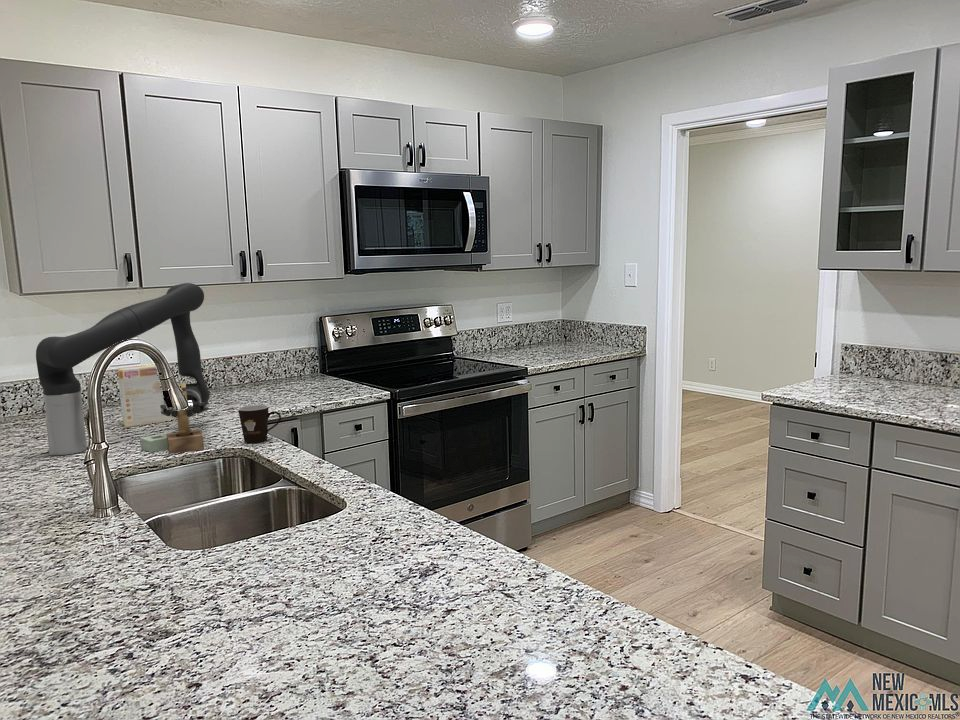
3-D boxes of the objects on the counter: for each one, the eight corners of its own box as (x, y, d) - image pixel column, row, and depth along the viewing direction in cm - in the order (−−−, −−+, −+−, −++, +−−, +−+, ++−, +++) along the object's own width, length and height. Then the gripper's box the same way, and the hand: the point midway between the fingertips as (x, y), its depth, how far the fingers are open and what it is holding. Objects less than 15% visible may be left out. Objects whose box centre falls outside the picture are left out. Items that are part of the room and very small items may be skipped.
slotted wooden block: (169, 453, 200) (168, 439, 199) (167, 447, 208) (166, 433, 207) (204, 449, 204) (202, 435, 203) (200, 442, 212) (199, 429, 211)
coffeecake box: (169, 418, 251) (164, 363, 249) (173, 421, 245) (168, 365, 243) (122, 424, 244) (116, 367, 241) (125, 427, 238) (119, 369, 235)
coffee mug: (234, 443, 210) (231, 409, 209) (255, 436, 217) (253, 404, 216) (263, 446, 204) (261, 412, 203) (284, 439, 212) (282, 406, 211)
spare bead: (150, 452, 202) (149, 441, 202) (140, 448, 207) (139, 438, 206) (175, 447, 207) (174, 436, 207) (164, 443, 212) (164, 433, 211)
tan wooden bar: (180, 447, 203) (174, 385, 201) (179, 445, 206) (173, 383, 204) (191, 445, 205) (186, 384, 203) (190, 443, 208) (185, 382, 205)
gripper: (161, 392, 215) (153, 402, 199) (210, 388, 219) (206, 398, 203) (163, 417, 216) (155, 428, 200) (212, 412, 220) (209, 424, 204)
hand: (181, 413), depth 202 cm, fingers closed on tan wooden bar, 3 cm apart
